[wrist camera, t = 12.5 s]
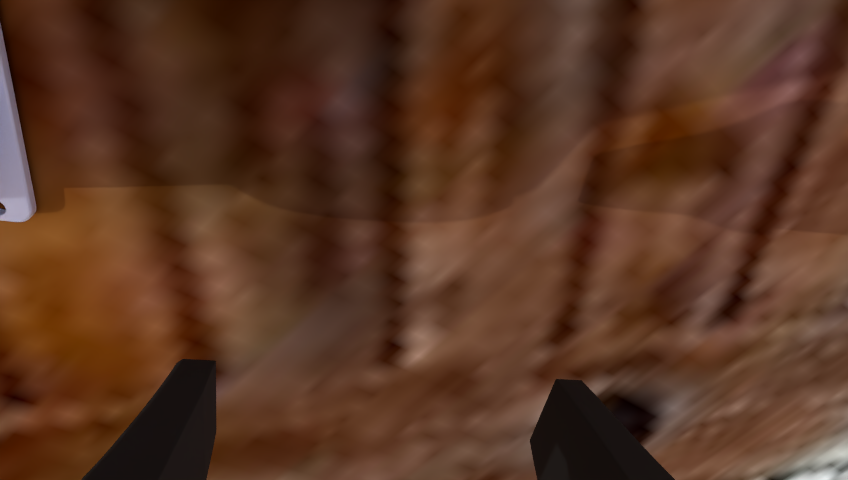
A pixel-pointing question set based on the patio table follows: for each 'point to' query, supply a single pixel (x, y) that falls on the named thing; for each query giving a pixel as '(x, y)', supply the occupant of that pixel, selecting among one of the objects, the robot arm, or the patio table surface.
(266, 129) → the patio table surface
